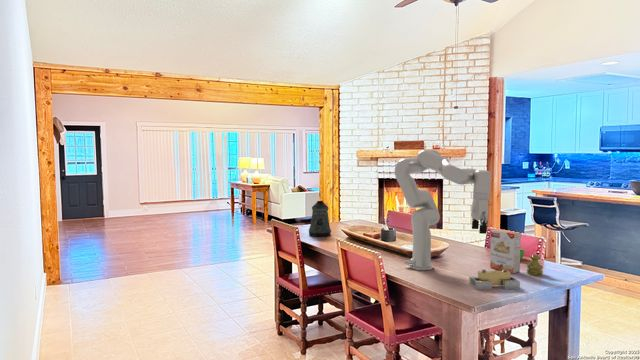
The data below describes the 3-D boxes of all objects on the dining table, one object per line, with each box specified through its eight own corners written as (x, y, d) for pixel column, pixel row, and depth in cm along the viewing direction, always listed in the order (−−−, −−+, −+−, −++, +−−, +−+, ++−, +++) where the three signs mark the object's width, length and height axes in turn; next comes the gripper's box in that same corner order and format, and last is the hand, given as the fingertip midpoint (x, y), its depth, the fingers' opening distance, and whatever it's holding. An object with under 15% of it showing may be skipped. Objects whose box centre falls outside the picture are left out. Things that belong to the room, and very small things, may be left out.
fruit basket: (516, 256, 271) (516, 237, 270) (527, 259, 262) (527, 240, 262) (500, 258, 267) (500, 238, 266) (510, 261, 259) (511, 241, 258)
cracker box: (489, 268, 245) (490, 229, 244) (496, 266, 249) (497, 228, 247) (513, 274, 234) (514, 233, 232) (520, 272, 237) (521, 232, 235)
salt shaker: (543, 276, 229) (544, 256, 228) (527, 275, 232) (527, 255, 231) (541, 272, 236) (542, 253, 235) (526, 271, 239) (526, 252, 238)
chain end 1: (476, 290, 208) (476, 282, 208) (469, 284, 217) (469, 276, 217) (491, 289, 209) (492, 282, 208) (483, 283, 218) (483, 276, 217)
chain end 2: (504, 289, 209) (504, 281, 209) (496, 283, 218) (496, 276, 218) (519, 289, 209) (519, 281, 209) (510, 283, 218) (510, 275, 218)
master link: (480, 285, 212) (480, 271, 211) (477, 283, 215) (478, 269, 214) (510, 285, 212) (510, 270, 212) (507, 283, 215) (507, 268, 215)
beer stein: (310, 237, 328) (310, 203, 326) (306, 232, 347) (306, 199, 345) (333, 236, 331) (333, 202, 329) (327, 231, 350) (327, 199, 348)
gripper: (467, 193, 228) (464, 227, 230) (480, 198, 211) (477, 235, 213) (482, 193, 229) (479, 227, 231) (496, 199, 211) (493, 235, 213)
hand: (478, 231), depth 222 cm, fingers open, 9 cm apart
